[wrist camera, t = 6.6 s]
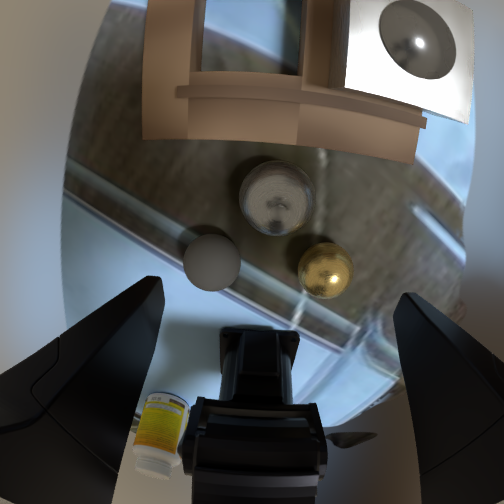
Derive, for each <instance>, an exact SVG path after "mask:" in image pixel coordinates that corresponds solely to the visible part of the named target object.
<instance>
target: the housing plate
mask: <svg viewBox="0 0 504 504" xmlns="http://www.w3.org/2000/svg"><path fill="white" fill-rule="evenodd" d="M333 7H334V0H302V10H301V26H300V41H299V55H298V68H297V76H292V75H283V74H272V73H258V72H235V71H201V60H202V44H203V31H204V19H205V8H206V0H148V7H147V16H146V26H145V38H144V52H143V73H142V140H162V139H211V140H238V141H255V142H268V143H280V144H290V145H300V146H308V147H316V148H324V149H331V150H338V151H345V152H351V153H357V154H363V155H368V156H374V157H379V158H384V159H389V160H394V161H398V162H403V163H407V164H412V165H413V162H414V157H415V152H416V147H417V141H418V136H419V130H420V128H423V129H426V122H427V118H425V117H422V111H420V110H417V109H413V108H410V107H407V106H403V105H400V104H396V103H393V102H389V101H385V100H381V99H377V98H373V97H369V96H364V95H360V94H355V93H350V92H345V91H340V90H334V89H328V82H329V71H330V58H331V44H332V28H333Z"/></svg>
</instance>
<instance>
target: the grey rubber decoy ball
mask: <svg viewBox="0 0 504 504" xmlns="http://www.w3.org/2000/svg"><path fill="white" fill-rule="evenodd" d="M183 266H184V271H185V274H186V276H187V278H188V279H189V280H190V282H191V283H192V284H193V285H195V286H196V287H198V288H199V289H202V290H205V291H219V290H222V289H225V288H226V287H228V286H229V285H231V284H232V283H233V282H234V281H235V279H236V278H237V276H238V274H239V271H240V266H241V259H240V254H239V252H238V250H237V248H236V246H235V245H234V244H233V242H231V241H230V240H229V239H228V238H226V237H224V236H222V235H218V234H206V235H202V236H200V237H198V238H196V239H195V240H193V241H192V242H191V243H190V245H189V246H188V248H187V249H186V251H185V254H184V259H183Z"/></svg>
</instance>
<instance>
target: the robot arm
mask: <svg viewBox="0 0 504 504" xmlns="http://www.w3.org/2000/svg"><path fill="white" fill-rule="evenodd" d="M164 306H165V297H164V290H163V284H162V280H161V278H160V277H158V276H146V277H144V278H143V279H141V280H140V281H138V282H136V283H135V284H133V285H132V286H130V287H129V288H127V289H126V290H125V291H123V292H122V293H120V294H119V295H117V296H116V297H114V298H113V299H111V300H110V301H108V302H107V303H105V304H104V305H102V306H101V307H99V308H98V309H97V310H95V311H94V312H92V313H91V314H89V315H88V316H86V317H85V318H84V319H82V320H81V321H79V322H78V323H76V324H75V325H74V326H72V327H71V328H69V329H68V330H67V331H65V332H64V333H63V334H61V335H60V338H59V337H57V338H55V339H54V340H53V341H51V342H50V343H48V344H47V345H46V346H44V347H43V348H41V349H40V350H38V351H37V352H36V353H34V354H32V355H31V356H29V357H28V358H26V359H25V360H23V361H21V362H20V363H18V364H17V365H15V366H13V367H12V368H10V369H9V370H7V371H5V372H4V373H2V374H0V504H111V503H112V498H113V494H114V490H115V486H116V481H117V477H118V472H119V469H120V465H121V461H122V457H123V453H124V449H125V446H126V442H127V438H128V435H129V431H130V428H131V424H132V421H133V417H134V414H135V411H136V407H137V404H138V401H139V398H140V394H141V391H142V388H143V385H144V382H145V379H146V375H147V372H148V369H149V366H150V363H151V360H152V357H153V354H154V351H155V347H156V342H157V338H158V333H159V328H160V324H161V319H162V315H163V311H164ZM393 321H394V327H395V333H396V339H397V345H398V352H399V358H400V363H401V368H402V372H403V377H404V381H405V385H406V390H407V395H408V400H409V405H410V410H411V416H412V421H413V427H414V433H415V440H416V447H417V455H418V463H419V473H420V485H421V500H422V504H504V362H502V361H501V360H500V359H499V358H498V357H496V356H495V355H494V354H492V352H490V351H489V350H488V349H487V348H486V347H484V346H483V345H482V344H481V343H480V342H478V341H477V340H476V339H475V338H473V337H472V336H471V335H470V334H469V333H467V332H466V331H465V330H464V329H462V328H461V327H460V326H458V325H457V324H456V323H455V322H453V321H452V320H451V319H450V318H448V317H447V316H446V315H444V314H443V313H442V312H440V311H439V310H438V309H436V308H435V307H434V306H432V305H431V304H430V303H428V302H427V301H426V300H424V299H423V298H422V297H420V296H419V295H418V294H416V293H409V292H406V293H403V294H402V296H401V298H400V300H399V302H398V305H397V307H396V309H395V311H394V314H393ZM299 341H300V336H299V334H298V333H295V332H276V331H259V330H245V329H232V328H223V329H221V330H220V366H221V374H222V380H221V387H220V395H219V400H215V399H206V398H205V397H199V396H198V397H197V400H196V404H195V405H193V406H191V409H190V414H189V419H188V423H187V426H186V429H185V431H184V433H183V435H182V438H181V440H180V442H179V444H178V447H177V453H178V455H179V456H180V457H181V458H182V462H183V469H184V473H185V475H189V476H192V504H315V495H316V489H317V482H318V481H321V480H322V479H323V477H324V475H325V472H326V468H327V459H328V457H327V456H328V453H327V443H326V439H325V435H324V431H323V427H322V423H321V419H320V416H319V412H318V408H317V404H316V403H308V404H293V397H292V378H291V370H292V367H293V363H294V360H295V356H296V352H297V349H298V345H299Z"/></svg>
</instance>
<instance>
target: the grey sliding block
mask: <svg viewBox="0 0 504 504" xmlns="http://www.w3.org/2000/svg"><path fill="white" fill-rule="evenodd" d="M473 74H474V20H473V10H471V9H470V8H468V7H466V6H465V5H463V4H461V3H459V2H458V1H456V0H334V7H333V28H332V44H331V58H330V71H329V82H328V89H334V90H340V91H345V92H350V93H355V94H360V95H364V96H369V97H373V98H377V99H381V100H385V101H389V102H393V103H396V104H400V105H403V106H407V107H410V108H413V109H417V110H420V111H423V112H426V113H429V114H432V115H435V116H439V117H443V118H446V119H450V120H454V121H457V122H461V123H464V124H468V122H469V115H470V107H471V99H472V88H473Z"/></svg>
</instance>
